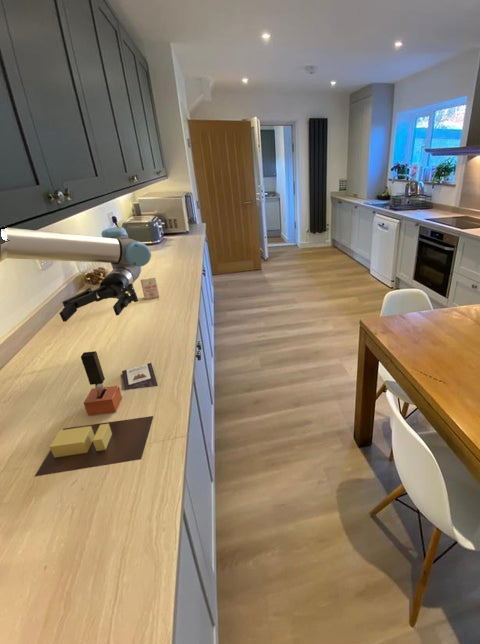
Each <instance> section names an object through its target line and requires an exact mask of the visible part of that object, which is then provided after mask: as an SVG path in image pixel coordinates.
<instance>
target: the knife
mask: <svg viewBox="0 0 480 644" xmlns="http://www.w3.org/2000/svg"><path fill="white" fill-rule="evenodd" d="M80 359H81V362H82V366H83V367H84V371H85V373H86V377H87V379H88V382H89V385H90V386H92V385H94V388H96V391H97V394H98V397H99V399H100V398H102V397H103V395H104V393H105V391H104V388H103V387H104V385H103V383H104V381H105V380H106V378H105V375H104V371H103V369H102V365H101V362H100V358H99V356H98V352H97V350H94V351H84V352H82V354H81V355H80Z"/></svg>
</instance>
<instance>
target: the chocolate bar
mask: <svg viewBox="0 0 480 644" xmlns="http://www.w3.org/2000/svg"><path fill="white" fill-rule="evenodd" d="M155 374H156V373H155V371H154V367H153V364H152V362H148V363H145V364H142V365H138V366H134V367H131V368H127V369H123V370H121V376H122V381H123V389H124V391H130V390H139V389H147V388H154V387H159V385H158V381H157V377H156V375H155Z"/></svg>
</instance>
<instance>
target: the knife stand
mask: <svg viewBox="0 0 480 644" xmlns="http://www.w3.org/2000/svg"><path fill="white" fill-rule="evenodd" d="M103 388H104V391H105V393H104V395H103V397H102V398H100V399H99V397H98V394H97V391H96V388H95V387H94V388H93V387H91V389H90V391H89V393H88V394H87V396H86V398H85V399H84V401H83V406H84V408H85V411H86V414H87V417H91V416H99V415H106V414H114V413H117V411H118V409H119V406H120V405H121V402H122V399H123V396H122V393H121V389H120V386H119V385H110V386H103Z"/></svg>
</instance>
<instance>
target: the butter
mask: <svg viewBox="0 0 480 644" xmlns="http://www.w3.org/2000/svg"><path fill="white" fill-rule="evenodd" d="M94 437H95V436H94V433H93V430H92V427H91V426H88V427H81V428H74V429H67V430H63V429H60V430H59V431H58V432H57V434H56V436H55V437H54V439H53V440H52V442H51V443H50V445H49V450H51V451H52V454H53V456H54V458H55V457H62V456H68V455H75V454H81V453H87V452H88V450H89V448H90V446H91V443H92V441H93V439H94Z"/></svg>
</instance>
